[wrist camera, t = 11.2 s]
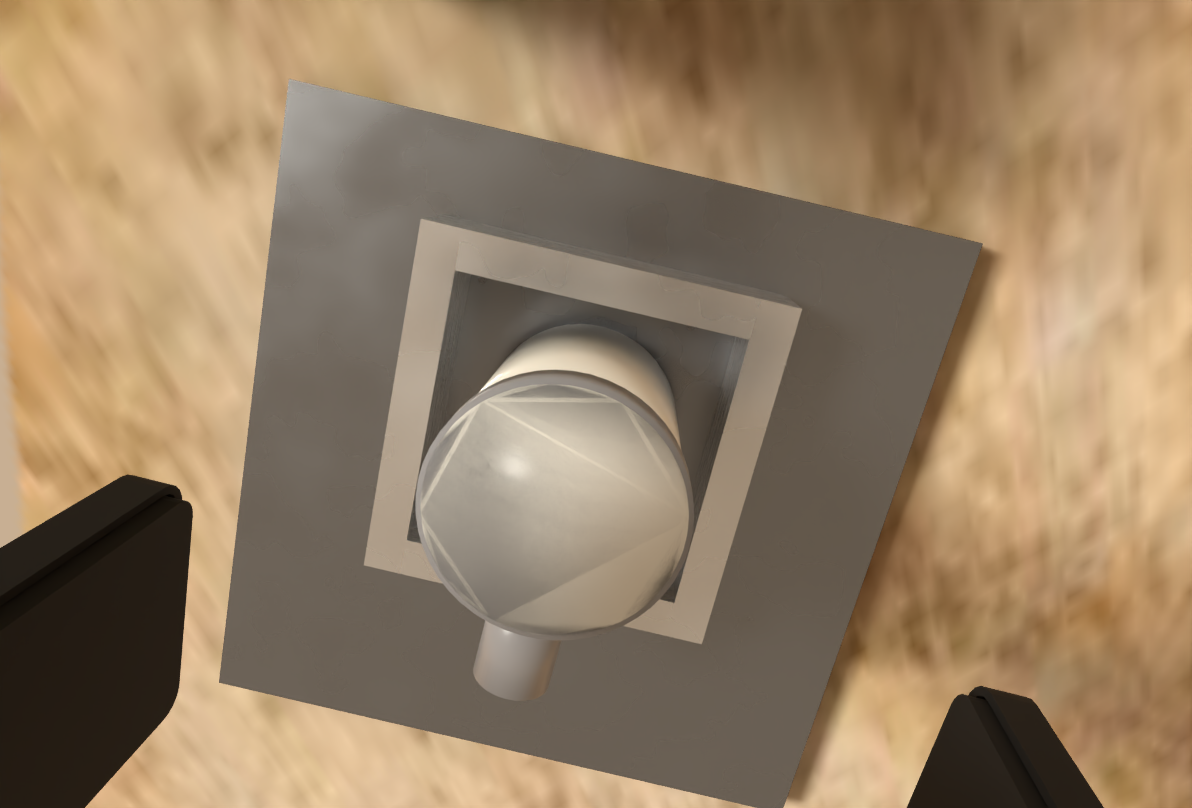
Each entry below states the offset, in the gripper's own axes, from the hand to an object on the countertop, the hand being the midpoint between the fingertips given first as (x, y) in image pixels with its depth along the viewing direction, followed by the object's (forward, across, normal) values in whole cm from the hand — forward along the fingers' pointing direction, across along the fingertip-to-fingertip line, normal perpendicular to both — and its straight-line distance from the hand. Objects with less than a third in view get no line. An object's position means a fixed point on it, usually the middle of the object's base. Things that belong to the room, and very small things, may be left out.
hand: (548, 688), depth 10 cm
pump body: (+13, +1, +2) cm, 13 cm away
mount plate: (+14, +1, +3) cm, 14 cm away
